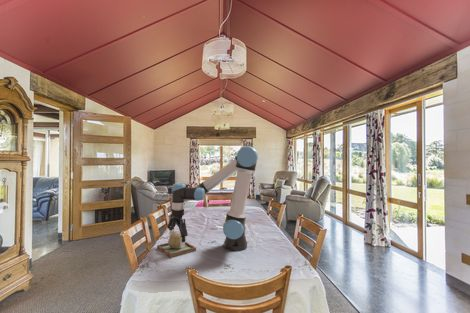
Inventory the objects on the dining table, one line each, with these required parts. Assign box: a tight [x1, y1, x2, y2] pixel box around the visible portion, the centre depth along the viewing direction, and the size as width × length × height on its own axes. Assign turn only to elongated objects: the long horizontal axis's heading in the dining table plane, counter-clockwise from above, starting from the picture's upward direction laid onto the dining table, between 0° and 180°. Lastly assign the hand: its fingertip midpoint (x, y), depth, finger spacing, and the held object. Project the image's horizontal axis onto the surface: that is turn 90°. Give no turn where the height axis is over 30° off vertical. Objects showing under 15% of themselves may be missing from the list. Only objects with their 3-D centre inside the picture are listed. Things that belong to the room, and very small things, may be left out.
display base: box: [156, 241, 197, 259], centre depth 145 cm, size 17×17×2 cm
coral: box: [167, 231, 187, 249], centre depth 145 cm, size 10×10×10 cm
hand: (176, 243), depth 145 cm, fingers open, 13 cm apart
